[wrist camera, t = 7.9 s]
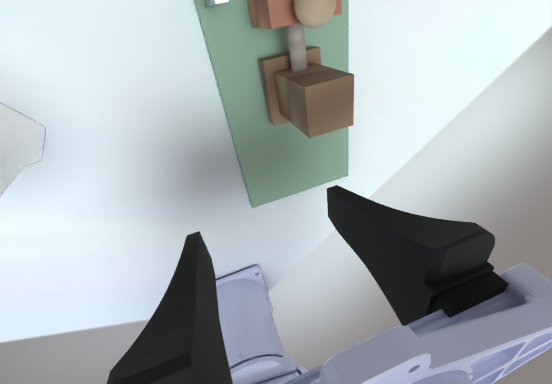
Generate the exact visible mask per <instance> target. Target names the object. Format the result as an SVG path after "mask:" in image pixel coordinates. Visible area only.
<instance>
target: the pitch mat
mask: <svg viewBox="0 0 552 384" xmlns="http://www.w3.org/2000/svg"><path fill="white" fill-rule="evenodd" d="M194 2H195V5H196V9H197V12H198V16H199V19H200V23H201V27H202V30H203V34H204V37H205V41H206V44H207V48H208V52H209V55H210V59H211V62H212V66H213V70H214V73H215V77H216V80H217V84H218V87H219V91H220V95H221V98H222V102H223V105H224V109H225V112H226V116H227V120H228V123H229V127H230V130H231V134H232V138H233V141H234V145H235V148H236V152H237V155H238V159H239V163H240V166H241V170H242V173H243V177H244V180H245V184H246V188H247V191H248V195H249V198H250V202H251V205H252V208H254V207H257V206H260V205H262V204H265V203H268V202H271V201H274V200H277V199H280V198H283V197H286V196H289V195H292V194H295V193H298V192H301V191H304V190H307V189H310V188H313V187H316V186H319V185H322V184H325V183H327V182H330V181H333V180H336V179H339V178H342V177H345V176H348V127H345V128H342V129H339V130H335V131H332V132H329V133H326V134H322V135H319V136H316V137H312V138H308V137H307V136H306V135H305V134H304V133H303V132H301V131H300V130H299V129H298V128H297V127H295V126H294V125H293V124H292V123H291V122H288V123H285V124H281V125H278V126H273V125H272V124H271V123H270V121H269V116H268V110H267V105H266V100H265V94H264V89H263V83H262V78H261V72H260V67H259V61H258V59H260V58H264V57H268V56H272V55H277V54H281V53H285V52H289V44H288V35H287V27H286V26H284V27H279V28H275V29H263V28H252V23H251V17H250V12H249V6H248V0H229V2H226V3H223V4H221V5H218V6H214V7H209V8H206V7H205V3H204V0H194ZM304 34H305V46H306V47H310V46H315V47H320V53H321V65H323V66H327V67H330V68H333V69H337V70H340V71H344V72H347V73H348V0H342V14H338V15H334V16H332V17H331V19H330V20H329V21H328V22H327V23H326V24H325V25H324V26H322V27H320V28H315V29H311V28H307V27H305V26H304Z"/></svg>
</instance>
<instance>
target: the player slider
mask: <svg viewBox="0 0 552 384" xmlns="http://www.w3.org/2000/svg"><path fill="white" fill-rule="evenodd" d="M248 6H249V12H250V17H251V23H252V28H263V29H275V28H279V27H284V26H286V27H287V35H288V44H289V52H285V53H281V54H277V55H272V56H268V57H264V58H260V59H258V61H259V67H260V72H261V78H262V83H263V89H264V94H265V100H266V105H267V110H268V116H269V121H270V123H271V124H272V125H273V126H278V125H281V124H285V123H288V122H291V123H292V124H293V125H294V126H295V127H297V128H298V129H299V130H300V131H301V132H303V133H304V134H305V135H306V136H307V137H308V138H312V137H316V136H319V135H322V134H326V133H329V132H332V131H335V130H339V129H342V128H345V127H349V126H352V125H353V103H354V74H351V73H347V72H344V71H340V70H337V69H333V68H330V67H327V66H323V65H321V53H320V47H315V46H310V47H306V46H305V34H304V26H305V27H307V28H311V29H315V28H320V27H322V26H324V25H325V24H326V23H327V22H328V21H329V20H330V19H331V17H332V16H334V15H338V14H342V0H248Z"/></svg>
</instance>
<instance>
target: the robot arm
mask: <svg viewBox="0 0 552 384" xmlns="http://www.w3.org/2000/svg"><path fill="white" fill-rule="evenodd" d="M327 202H328V217H329V218H330V220H331V222H332V223H333V225H334V227H335V228H336V230H337V231H338V232H339V234H340V235H341V236H342V237H343V238H344V240H345V241H346V242H347V243H348V244H349V246H350V247H351V248H352V249H353V250H354V252H355V253H356V254H357V255H358V256H359V258H360V259H361V260H362V261H363V263H364V264H365V265H366V267H367V268H368V270H369V271H370V272H371V274H372V276H373V277H374V279H375V280H376V282H377V284H378V285H379V287H380V288H381V290H382V291H383V293H384V295H385V296H386V298H387V300H388V301H389V303H390V305H391V306H392V308H393V310H394V311H395V313H396V315H397V317H398V319H399V320H400V322H401V324H402V325H398V326H395V327H392V328H389V329H387V330H385V331H382V332H380V333H378V334H376V335H374V336H372V337H369V338H367V339H366V340H363V341H361V342H359V343H357V344H354V345H352V346H350V347H348V348H346V349H344V350H341V351H340V352H338V353H336V354H335V355H333V356H331V357H330V358H329V359H328V360H327V361H326V362H325V363H324V364H322V365H320V366H318V367H316V368H314V369H312V370H310V371H307V370H306V369H305V368H304V367H303V366H297V367H295V364H294V361H293V358H292V356H288V357H286V355H285V352H284V349H283V346H282V344H281V341H280V338H279V335H278V332H277V329H276V326H275V323H274V320H273V317H272V314H271V313H272V312H273V308H272V305H271V302H270V299H269V295H268V292H267V289H266V286H265V283H264V279H263V276H262V273H261V270H260V267H259V266H253V267H251V268H248V269H245V270H243V271H240V272H237V273H235V274H232V275H230V276H227V277H224V278H222V279H219V280H216V279H215V273H214V268H213V264H212V259H211V256H210V254H209V252H208V250H207V247H206V245H205V243H204V241H203V238H202V236H201V234H200V232H196V233H193V234H190V235H187V237H186V240H185V244H184V247H183V250H182V254H181V257H180V259H179V262H178V265H177V268H176V270H175V273H174V275H173V277H172V280H171V282H170V284H169V287H168V289H167V291H166V293H165V295H164V297H163V298H162V300H161V302H160V304H159V306H158V307H157V309H156V311H155V312H154V314H153V316H152V317H151V319H150V321H149V322H148V324H147V325H146V327H145V328H144V330H143V331H142V332H141V334H140V335H139V336H138V338H137V339H136V341H135V342H134V343H133V345H132V346H131V347H130V349H129V350H128V351H127V352H126V353H125V355H124V356H123V357H122V358H121V359H120V361H119V362H118V363H117V364H116V365H115V367H114V368H113V369H112V370H111V371H110V375H109V378H108V381H107V384H493V383H494V382H495V381H497V380H499V379H500V378H502V377H504V376H505V375H507V374H508V373H510V372H511V371H513V370H515V369H516V368H518V367H520V366H521V365H523V364H524V363H526V362H528V361H529V360H531V359H532V358H534V357H536V356H538V355H539V354H541V353H542V352H544V351H546V350H548V349H550V348H551V347H552V281H551V280H550V279H548V278H546V277H545V276H543V275H542V274H541V273H539V272H538V271H536V270H535V269H533V268H531V267H530V266H529V265H527V264H526V263H520V264H518V265H516V266H513V267H511V268H509V269H507V270H505V271H503V272H502V273H501V274H500V275H499V276H498V275H497V274H496V273H494V272H493V271H492V270H493V269H494V267H493V266H492V265H491V264H490V263H488V262H487V260H488V258H489V256H490V254H491V252H492V250H493V247H494V244H495V237H494V235H493V234H492V233H490V232H488V231H487V230H485V229H484V228H482V227H481V226H479V225H478V224H476V223H472V222H460V221H450V220H443V219H436V218H430V217H425V216H420V215H415V214H411V213H407V212H403V211H400V210H396V209H393V208H390V207H387V206H384V205H381V204H379V203H376V202H374V201H371V200H369V199H366V198H364V197H362V196H360V195H357V194H355V193H353V192H351V191H349V190H346V189H344V188H342V187H340V186H337V185H336V186H333V187H330V188H327Z"/></svg>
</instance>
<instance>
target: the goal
mask: <svg viewBox="0 0 552 384" xmlns="http://www.w3.org/2000/svg"><path fill="white" fill-rule="evenodd" d="M226 2H229V0H204V3H205V7H206V8H209V7H214V6H218V5H221V4H223V3H226Z"/></svg>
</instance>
